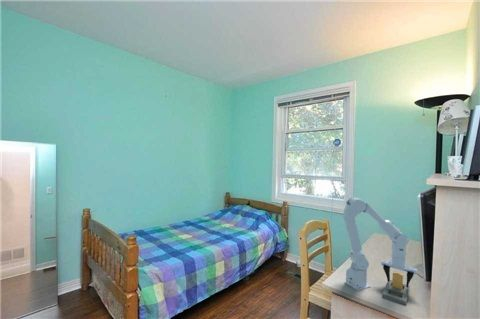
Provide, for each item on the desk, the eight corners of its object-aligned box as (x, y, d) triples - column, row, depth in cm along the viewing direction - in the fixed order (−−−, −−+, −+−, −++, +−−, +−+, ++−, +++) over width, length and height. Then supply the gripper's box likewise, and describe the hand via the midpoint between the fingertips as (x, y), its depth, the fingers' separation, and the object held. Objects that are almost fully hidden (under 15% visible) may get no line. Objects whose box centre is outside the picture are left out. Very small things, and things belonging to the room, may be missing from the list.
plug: (402, 292, 112) (402, 276, 112) (392, 289, 115) (392, 273, 115) (402, 288, 115) (403, 273, 115) (393, 285, 118) (393, 271, 118)
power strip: (406, 305, 102) (406, 301, 102) (382, 296, 107) (382, 293, 107) (409, 288, 115) (409, 285, 115) (388, 282, 121) (388, 279, 121)
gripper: (417, 258, 113) (416, 285, 113) (382, 250, 123) (382, 275, 123) (416, 262, 108) (415, 291, 108) (380, 254, 117) (379, 280, 117)
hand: (397, 283), depth 115 cm, fingers open, 7 cm apart
